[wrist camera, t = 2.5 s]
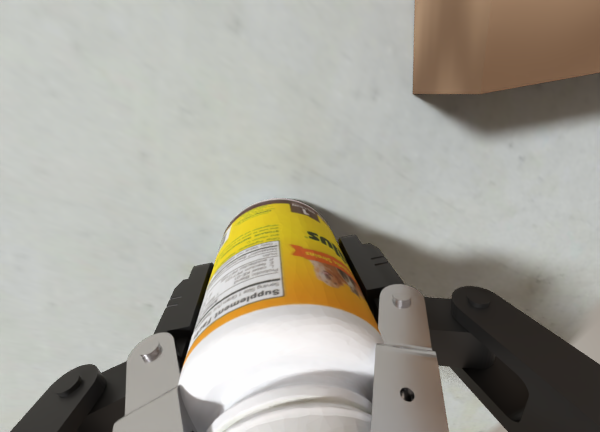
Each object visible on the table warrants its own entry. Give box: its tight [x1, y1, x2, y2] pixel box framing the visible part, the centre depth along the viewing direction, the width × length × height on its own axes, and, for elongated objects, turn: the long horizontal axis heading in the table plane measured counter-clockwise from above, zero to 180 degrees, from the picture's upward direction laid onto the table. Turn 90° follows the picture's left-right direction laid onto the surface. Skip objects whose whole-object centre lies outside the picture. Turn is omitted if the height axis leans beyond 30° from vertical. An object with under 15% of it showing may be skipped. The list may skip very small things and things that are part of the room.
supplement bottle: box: [178, 198, 385, 432], centre depth 9 cm, size 6×6×10 cm
